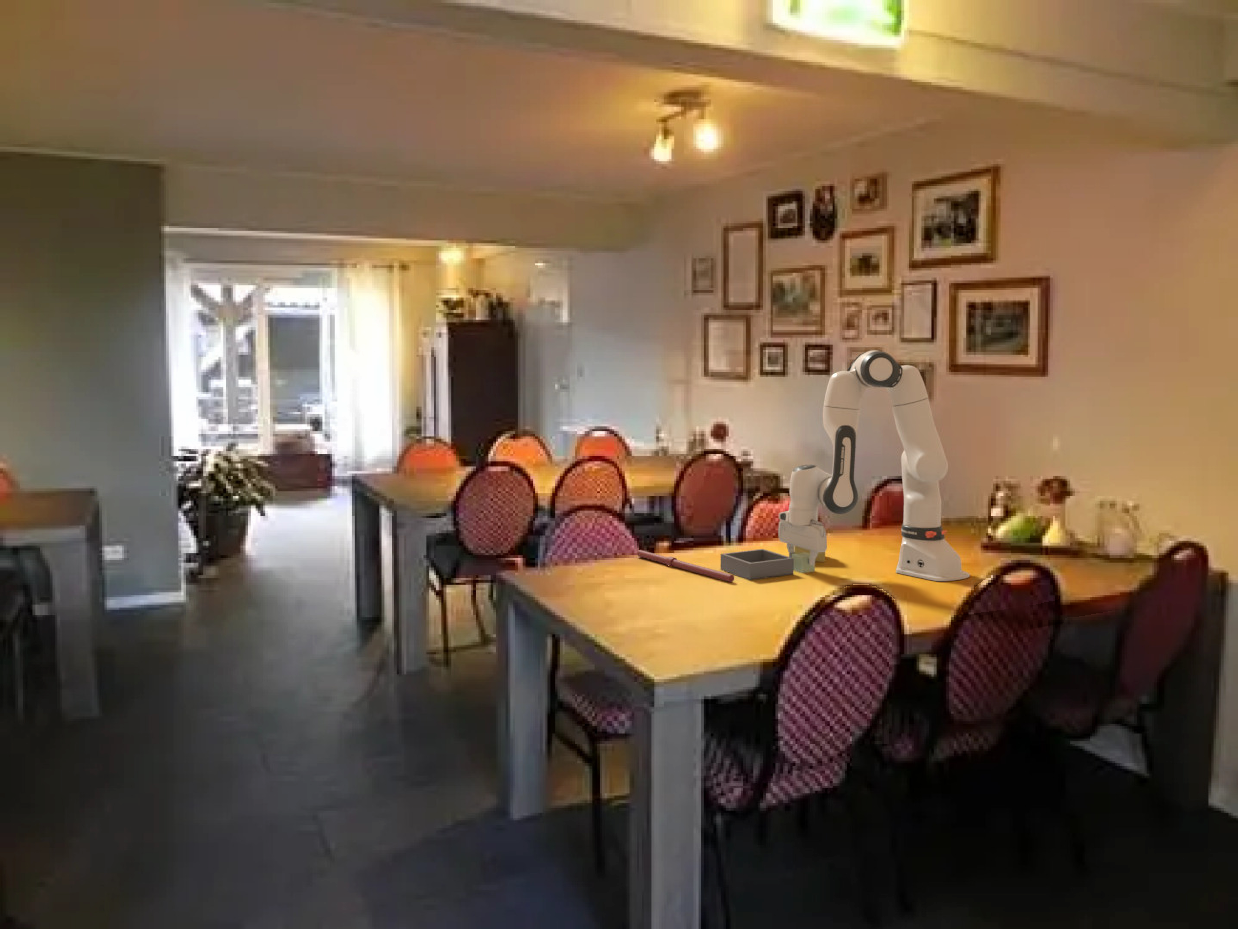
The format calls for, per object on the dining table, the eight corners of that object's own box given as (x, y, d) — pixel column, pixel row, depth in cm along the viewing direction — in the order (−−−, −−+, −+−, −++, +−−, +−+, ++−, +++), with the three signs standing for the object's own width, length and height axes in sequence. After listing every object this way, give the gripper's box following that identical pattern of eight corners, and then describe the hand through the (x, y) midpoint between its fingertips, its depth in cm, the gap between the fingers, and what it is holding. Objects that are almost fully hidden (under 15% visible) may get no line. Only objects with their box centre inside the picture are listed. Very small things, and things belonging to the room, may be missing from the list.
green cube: (814, 571, 310) (814, 555, 310) (801, 573, 308) (801, 557, 308) (804, 568, 315) (804, 552, 314) (791, 570, 313) (791, 554, 312)
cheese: (822, 555, 333) (823, 526, 332) (826, 562, 323) (826, 532, 321) (790, 555, 334) (791, 525, 333) (793, 562, 324) (793, 531, 322)
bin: (793, 574, 306) (793, 558, 306) (749, 580, 299) (750, 563, 298) (762, 564, 320) (763, 548, 320) (720, 569, 313) (720, 553, 312)
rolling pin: (635, 558, 331) (635, 549, 331) (643, 557, 333) (643, 548, 332) (727, 584, 295) (728, 574, 294) (735, 583, 297) (735, 572, 296)
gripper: (832, 522, 302) (831, 567, 304) (791, 511, 320) (790, 554, 322) (816, 523, 299) (814, 569, 301) (775, 513, 317) (774, 555, 319)
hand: (801, 561), depth 311 cm, fingers open, 8 cm apart
